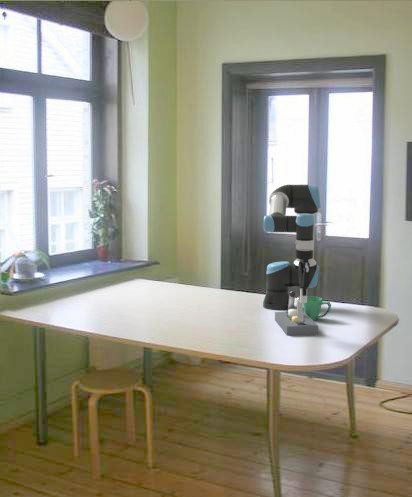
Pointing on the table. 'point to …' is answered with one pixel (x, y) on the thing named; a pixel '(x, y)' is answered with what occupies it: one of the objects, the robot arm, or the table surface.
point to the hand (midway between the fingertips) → (303, 302)
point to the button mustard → (294, 319)
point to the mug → (315, 307)
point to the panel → (296, 324)
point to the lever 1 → (291, 300)
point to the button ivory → (292, 313)
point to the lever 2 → (299, 310)
